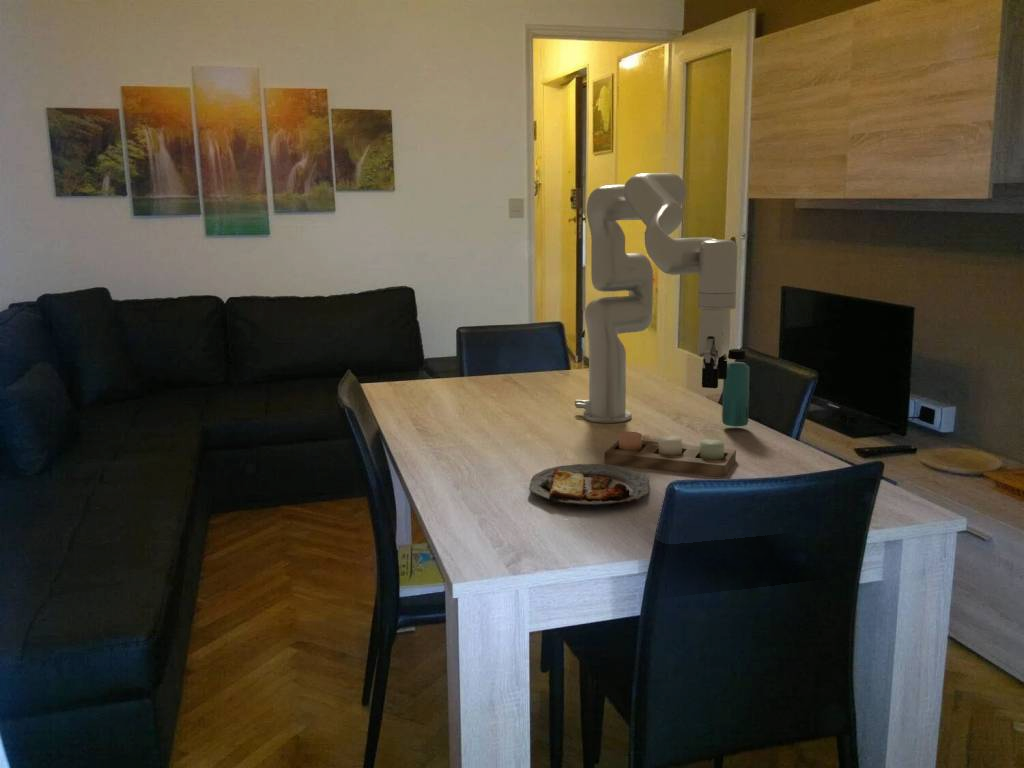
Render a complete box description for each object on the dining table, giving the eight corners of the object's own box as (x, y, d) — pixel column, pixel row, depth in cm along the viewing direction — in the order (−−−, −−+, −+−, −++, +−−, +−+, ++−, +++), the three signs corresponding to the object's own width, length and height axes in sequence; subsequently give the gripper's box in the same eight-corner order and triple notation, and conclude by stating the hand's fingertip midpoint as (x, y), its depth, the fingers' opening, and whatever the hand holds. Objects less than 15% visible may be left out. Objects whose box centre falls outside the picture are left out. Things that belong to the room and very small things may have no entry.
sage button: (697, 460, 182) (697, 444, 181) (702, 454, 186) (702, 438, 186) (721, 463, 180) (721, 447, 179) (725, 456, 184) (726, 440, 184)
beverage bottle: (749, 433, 209) (752, 352, 204) (721, 432, 210) (723, 351, 206) (747, 426, 215) (750, 347, 211) (720, 425, 216) (722, 346, 212)
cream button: (655, 456, 186) (656, 440, 185) (661, 449, 190) (662, 434, 189) (678, 458, 184) (679, 442, 183) (684, 452, 188) (684, 436, 187)
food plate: (647, 516, 156) (647, 497, 155) (521, 512, 160) (521, 494, 159) (650, 476, 180) (650, 460, 180) (540, 473, 184) (540, 457, 184)
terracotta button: (616, 451, 189) (616, 436, 189) (622, 445, 194) (622, 430, 193) (637, 454, 187) (638, 438, 187) (644, 448, 192) (644, 432, 191)
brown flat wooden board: (604, 463, 187) (604, 452, 187) (621, 448, 198) (621, 438, 197) (724, 477, 177) (725, 465, 176) (735, 460, 187) (735, 449, 187)
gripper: (707, 295, 185) (705, 374, 189) (688, 305, 170) (687, 390, 174) (742, 296, 182) (740, 376, 186) (727, 306, 167) (724, 393, 170)
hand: (714, 382), depth 180 cm, fingers open, 8 cm apart
